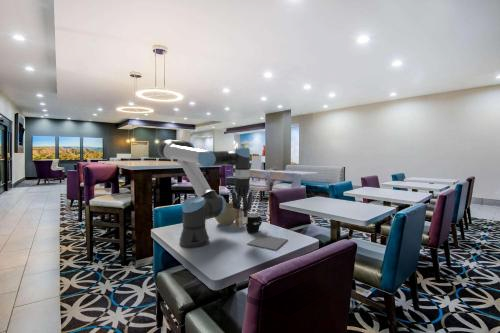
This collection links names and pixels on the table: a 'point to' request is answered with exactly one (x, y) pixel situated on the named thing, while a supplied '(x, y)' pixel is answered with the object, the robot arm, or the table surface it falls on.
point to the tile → (239, 218)
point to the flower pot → (227, 215)
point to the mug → (253, 223)
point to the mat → (267, 242)
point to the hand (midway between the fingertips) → (241, 222)
